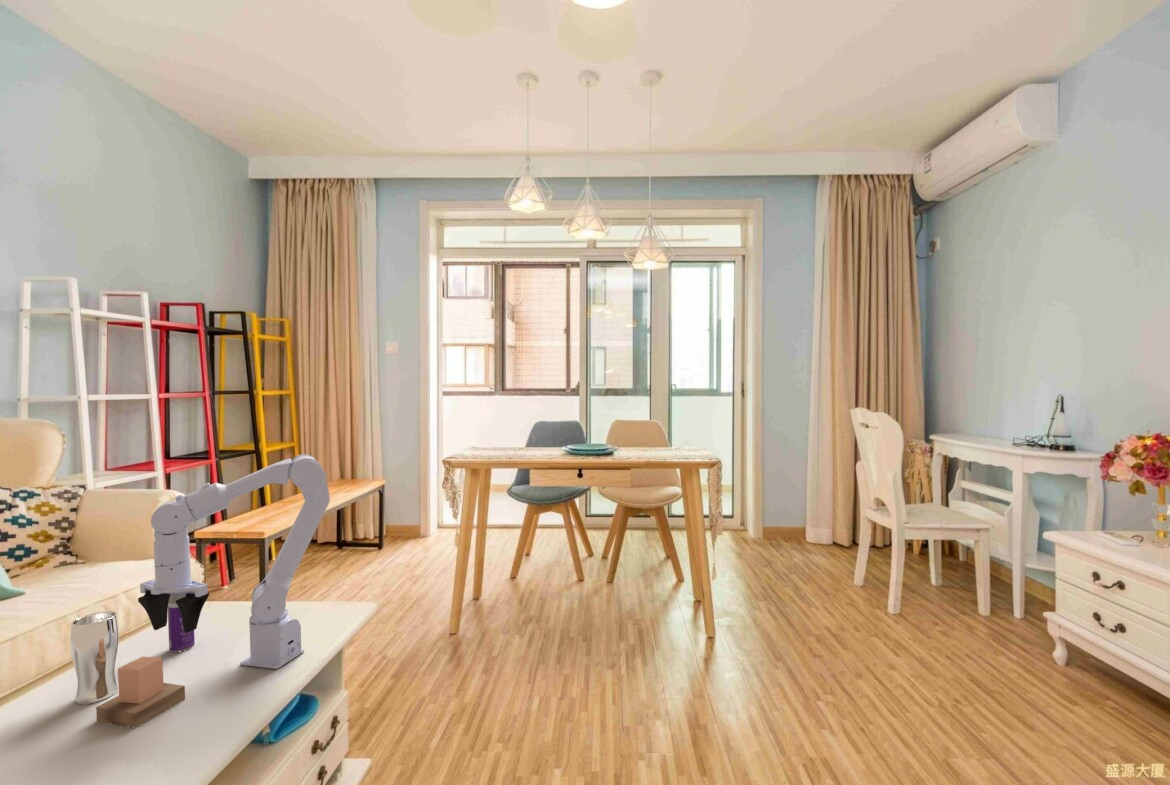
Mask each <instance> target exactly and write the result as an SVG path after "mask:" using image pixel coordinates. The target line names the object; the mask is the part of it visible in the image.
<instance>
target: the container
mask: <svg viewBox="0 0 1170 785" xmlns="http://www.w3.org/2000/svg"><path fill="white" fill-rule="evenodd" d="M183 597H186V595H183V594H171V595H170V598H169V603H168V611H167V627H168V652H169V651H170V652H169V653H171V652H179V651H184V650H187V651H189V650H191V649H193V648H195V646H196V645H195V644H196V643H195V630H193V631H191V632H189V633H185V632H184V629H183V621H182V615H181V612H180V609H179V607H178V605H177V604H176V600H178V599H181V598H183ZM194 645H195V646H194ZM192 647H193V648H192ZM190 648H191V649H190ZM188 649H189V650H188ZM184 652H185V651H184ZM179 653H180V652H179Z"/></svg>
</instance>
